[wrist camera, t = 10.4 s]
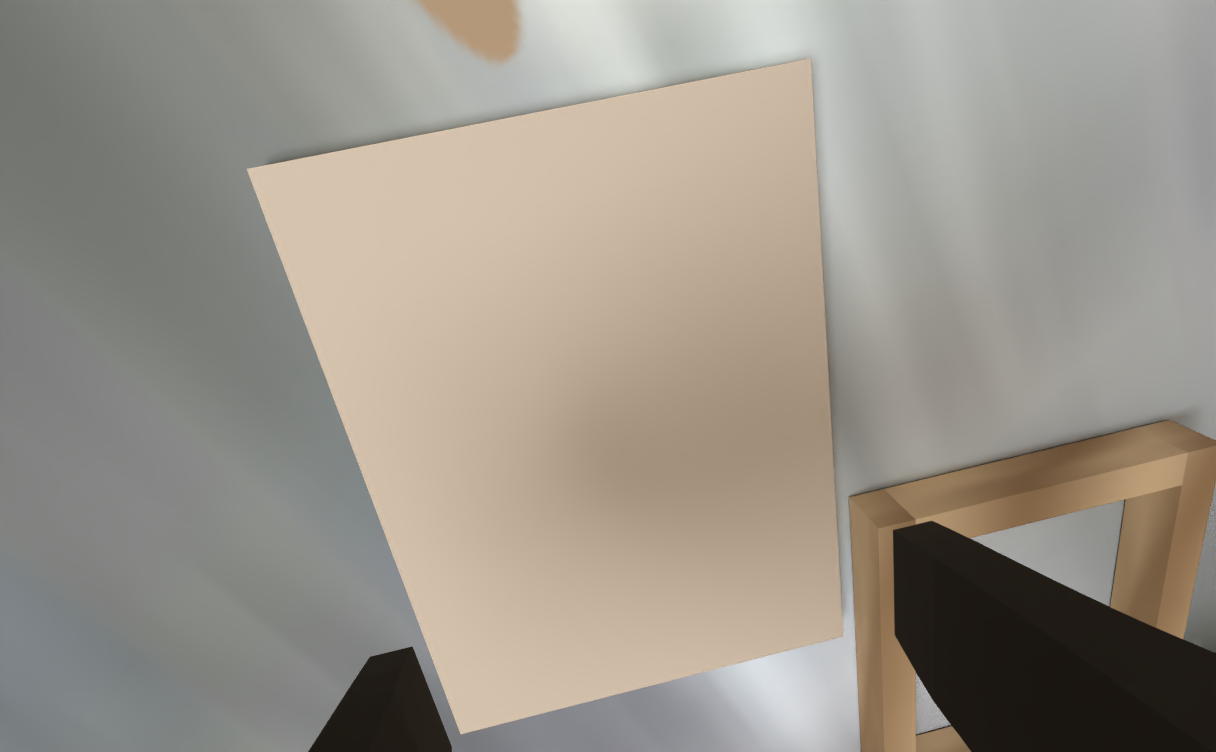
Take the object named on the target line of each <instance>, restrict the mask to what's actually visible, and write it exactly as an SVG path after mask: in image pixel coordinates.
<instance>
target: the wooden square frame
mask: <svg viewBox="0 0 1216 752" xmlns="http://www.w3.org/2000/svg"><path fill="white" fill-rule="evenodd" d="M1215 482H1216V440H1213V439H1211V438H1209V437H1206V436H1204V435H1202V434H1200V433H1197V432H1195V431H1193V430H1190V429H1188V428H1186V427H1184V426H1181V425H1179V424H1177V423H1175V422H1172V421H1170V420H1167V421H1162V422H1158V423H1154V424H1150V425H1146V426H1142V427H1138V428H1134V429H1129V430H1125V431H1121V432H1117V433H1113V434H1109V435H1105V436H1100V437H1096V438H1092V439H1088V440H1084V441H1080V442H1076V443H1072V444H1067V445H1063V446H1059V447H1055V448H1051V449H1047V450H1043V451H1038V452H1034V453H1030V454H1026V455H1022V456H1018V457H1014V458H1009V459H1005V460H1001V461H997V462H993V463H989V464H985V465H981V466H976V467H972V468H968V469H964V470H960V471H956V472H952V473H947V474H943V475H939V476H935V477H931V478H927V479H923V480H919V481H914V482H910V483H906V484H902V485H898V486H894V487H890V488H885V489H881V490H877V491H873V492H869V493H865V494H861V495H856V496H852V497H849V505H850V527H851V548H852V569H853V591H854V612H855V633H856V655H857V676H858V697H859V719H860V740H861V752H971V751H970V749H969V748H968V747H967V745H966V744H965V743H964V741H963V740H962V739H961V737H960V736H959V735H958V733H957V732H956V731H955V729H954V728H953V727H952V726H951V727H947V728H943V729H939V730H936V731H932V732H928V733H924V734H921V735H917V736H916V671H915V670H914V668H913V666H912V664H911V663H910V661H909V659H908V657H907V656H906V654H905V652H904V650H903V649H902V647H901V645H900V643H899V642H898V640H897V638H896V637H895V628H894V566H893V530H895V529H899V528H903V527H908V526H912V525H916V524H920V523H924V522H928V521H934V522H936V523H938V524H940V525H943V526H945V527H947V528H949V529H951V530H953V531H955V532H957V533H960V534H962V535H964V536H966V537H968V538H972V537H976V536H980V535H984V534H988V533H992V532H996V531H1000V530H1004V529H1008V528H1012V527H1016V526H1020V525H1024V524H1028V523H1032V522H1036V521H1040V520H1044V519H1048V518H1052V517H1056V516H1060V515H1064V514H1068V513H1072V512H1076V511H1080V510H1084V509H1088V508H1092V507H1096V506H1100V505H1104V504H1108V503H1112V502H1116V501H1120V500H1124V499H1126V501H1125V508H1124V515H1123V522H1122V529H1121V535H1120V542H1119V549H1118V556H1117V563H1116V570H1115V577H1114V584H1113V591H1112V597H1111V604H1110V607H1111V608H1113V609H1115V610H1118V611H1120V612H1122V613H1124V614H1126V615H1129V616H1131V617H1133V618H1135V619H1137V620H1139V621H1142V622H1144V623H1146V624H1149V625H1151V626H1153V627H1156V628H1158V629H1160V630H1162V631H1165V632H1167V633H1169V634H1172V635H1174V636H1176V637H1179V638H1181V639H1183V638H1184V633H1185V628H1186V623H1187V618H1188V613H1189V609H1190V604H1191V599H1192V594H1193V589H1194V584H1195V579H1196V574H1197V570H1198V565H1199V560H1200V555H1201V550H1202V545H1203V540H1204V535H1205V531H1206V526H1207V521H1208V516H1209V511H1210V506H1211V501H1212V496H1213V492H1214V487H1215Z"/></svg>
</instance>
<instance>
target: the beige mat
mask: <svg viewBox="0 0 1216 752" xmlns="http://www.w3.org/2000/svg"><path fill="white" fill-rule="evenodd" d="M247 171H248V173H249V176H250V179H251V181H252V184H253V187H254V189H255V192H256V195H257V197H258V200H259V202H260V205H261V208H262V210H263V213H264V216H265V218H266V221H267V224H268V226H269V229H270V231H271V234H272V237H273V239H274V242H275V245H276V247H277V250H278V253H279V255H280V258H281V261H282V263H283V266H284V268H285V271H286V274H287V276H288V279H289V282H290V284H291V287H292V290H293V292H294V295H295V298H296V300H297V303H298V305H299V308H300V311H301V313H302V316H303V319H304V321H305V324H306V327H307V329H308V332H309V335H310V337H311V340H312V342H313V345H314V348H315V350H316V353H317V356H318V358H319V361H320V364H321V366H322V369H323V372H324V374H325V377H326V379H327V382H328V385H329V387H330V390H331V393H332V395H333V398H334V401H335V403H336V406H337V408H338V411H339V414H340V416H341V419H342V422H343V424H344V427H345V430H346V432H347V435H348V438H349V440H350V443H351V445H352V448H353V451H354V453H355V456H356V459H357V461H358V464H359V467H360V469H361V472H362V475H363V477H364V480H365V482H366V485H367V488H368V490H369V493H370V496H371V498H372V501H373V504H374V506H375V509H376V512H377V514H378V517H379V519H380V522H381V525H382V527H383V530H384V533H385V535H386V538H387V541H388V543H389V546H390V549H391V551H392V554H393V556H394V559H395V562H396V564H397V567H398V570H399V572H400V575H401V578H402V580H403V583H404V585H405V588H406V591H407V593H408V596H409V599H410V601H411V604H412V607H413V609H414V612H415V615H416V617H417V620H418V622H419V625H420V628H421V630H422V633H423V636H424V638H425V641H426V644H427V646H428V649H429V652H430V654H431V657H432V659H433V662H434V665H435V667H436V670H437V673H438V675H439V678H440V681H441V683H442V686H443V689H444V691H445V694H446V696H447V699H448V702H449V704H450V707H451V710H452V712H453V715H454V718H455V720H456V723H457V725H458V728H459V731H460V733H461V734H464V733H467V732H471V731H475V730H479V729H483V728H487V727H491V726H495V725H499V724H503V723H507V722H510V721H514V720H518V719H522V718H526V717H530V716H534V715H538V714H542V713H546V712H550V711H553V710H557V709H561V708H565V707H569V706H573V705H577V704H581V703H585V702H589V701H593V700H596V699H600V698H604V697H608V696H612V695H616V694H620V693H624V692H628V691H632V690H635V689H639V688H643V687H647V686H651V685H655V684H659V683H663V682H667V681H671V680H675V679H678V678H682V677H686V676H690V675H694V674H698V673H702V672H706V671H710V670H714V669H718V668H721V667H725V666H729V665H733V664H737V663H741V662H745V661H749V660H753V659H757V658H761V657H764V656H768V655H772V654H776V653H780V652H784V651H788V650H792V649H796V648H800V647H803V646H807V645H811V644H815V643H819V642H823V641H827V640H831V639H835V638H839V637H843V623H842V605H841V587H840V570H839V552H838V534H837V516H836V499H835V481H834V463H833V445H832V428H831V410H830V392H829V374H828V357H827V339H826V321H825V303H824V286H823V268H822V250H821V232H820V215H819V197H818V179H817V161H816V144H815V126H814V108H813V90H812V73H811V59H806V60H800V61H795V62H790V63H785V64H780V65H775V66H770V67H765V68H760V69H755V70H749V71H744V72H739V73H734V74H729V75H724V76H719V77H714V78H709V79H704V80H698V81H693V82H688V83H683V84H678V85H673V86H668V87H663V88H658V89H653V90H647V91H642V92H637V93H632V94H627V95H622V96H617V97H612V98H607V99H602V100H596V101H591V102H586V103H581V104H576V105H571V106H566V107H561V108H556V109H551V110H546V111H540V112H535V113H530V114H525V115H520V116H515V117H510V118H505V119H500V120H495V121H489V122H484V123H479V124H474V125H469V126H464V127H459V128H454V129H449V130H444V131H438V132H433V133H428V134H423V135H418V136H413V137H408V138H403V139H398V140H393V141H387V142H382V143H377V144H372V145H367V146H362V147H357V148H352V149H347V150H342V151H336V152H331V153H326V154H321V155H316V156H311V157H306V158H301V159H296V160H291V161H285V162H280V163H275V164H270V165H265V166H260V167H255V168H250V169H247Z"/></svg>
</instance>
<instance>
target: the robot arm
mask: <svg viewBox="0 0 1216 752" xmlns="http://www.w3.org/2000/svg"><path fill="white" fill-rule="evenodd" d="M893 566H894V628H895V637H896V638H897V640H898V642H899V643H900V645H901V647H902V649H903V650H904V652H905V654H906V656H907V657H908V659H909V661H910V663H911V664H912V666H913V668H914V670H915V671H916V673H917V675H918V676H919V678H920V680H921V681H922V683H923V684H924V686H925V688H926V689H927V691H928V693H929V694H930V696H931V698H932V699H933V701H934V702H935V704H936V705H937V706H938V708H939V709H940V710H941V712H942V713H943V714H944V716H945V717H946V719H947V720H948V721H949V723H950V724H951V725H952V727H953V728H954V729H955V731H956V732H957V733H958V735H959V736H960V737H961V739H962V740H963V741H964V743H965V744H966V745H967V747H968V748H969V749H970V751H971V752H1216V653H1214V652H1211V651H1209V650H1206V649H1204V648H1202V647H1199V646H1197V645H1195V644H1193V643H1190V642H1188V641H1186V640H1183V639H1181V638H1179V637H1176V636H1174V635H1172V634H1169V633H1167V632H1165V631H1162V630H1160V629H1158V628H1156V627H1153V626H1151V625H1149V624H1146V623H1144V622H1142V621H1139V620H1137V619H1135V618H1133V617H1131V616H1129V615H1126V614H1124V613H1122V612H1120V611H1118V610H1115V609H1113V608H1111V607H1109V606H1107V605H1105V604H1102V603H1100V602H1098V601H1096V600H1094V599H1092V598H1090V597H1088V596H1085V595H1083V594H1081V593H1079V592H1077V591H1075V590H1073V589H1071V588H1069V587H1067V586H1065V585H1063V584H1060V583H1058V582H1056V581H1054V580H1052V579H1050V578H1048V577H1046V576H1044V575H1042V574H1040V573H1038V572H1036V571H1034V570H1032V569H1030V568H1028V567H1026V566H1024V565H1022V564H1020V563H1018V562H1016V561H1014V560H1012V559H1010V558H1008V557H1006V556H1004V555H1002V554H1000V553H998V552H996V551H994V550H992V549H990V548H988V547H986V546H984V545H982V544H980V543H978V542H976V541H974V540H972V539H970V538H968V537H966V536H964V535H962V534H960V533H957V532H955V531H953V530H951V529H949V528H947V527H945V526H943V525H940V524H938V523H936V522H934V521H928V522H924V523H920V524H916V525H912V526H908V527H903V528H899V529H895V530H893ZM308 752H452V746H451V744H450V741H449V739H448V736H447V734H446V731H445V729H444V726H443V723H442V721H441V718H440V716H439V713H438V711H437V708H436V706H435V703H434V700H433V698H432V695H431V693H430V690H429V688H428V685H427V683H426V680H425V677H424V675H423V672H422V670H421V667H420V665H419V662H418V660H417V657H416V654H415V652H414V649H413V647H409V648H405V649H401V650H397V651H392V652H388V653H384V654H380V655H376V656H372V657H370V658H369V659H368V661H367V662H366V664H365V665H364V667H363V668H362V670H361V671H360V673H359V674H358V676H357V677H356V679H355V680H354V682H353V683H352V685H351V686H350V688H349V689H348V691H347V692H346V694H345V696H344V697H343V699H342V700H341V702H340V703H339V705H338V706H337V708H336V710H335V711H334V713H333V714H332V716H331V717H330V719H329V720H328V722H327V724H326V725H325V727H324V728H323V730H322V731H321V733H320V734H319V736H318V737H317V739H316V741H315V742H314V744H313V745H312V747H311V748H310V750H309V751H308Z"/></svg>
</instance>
